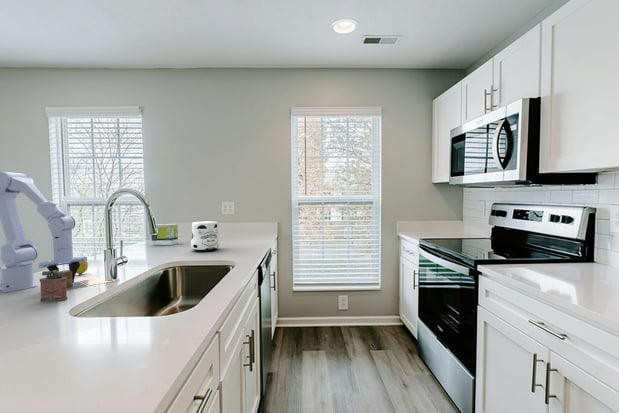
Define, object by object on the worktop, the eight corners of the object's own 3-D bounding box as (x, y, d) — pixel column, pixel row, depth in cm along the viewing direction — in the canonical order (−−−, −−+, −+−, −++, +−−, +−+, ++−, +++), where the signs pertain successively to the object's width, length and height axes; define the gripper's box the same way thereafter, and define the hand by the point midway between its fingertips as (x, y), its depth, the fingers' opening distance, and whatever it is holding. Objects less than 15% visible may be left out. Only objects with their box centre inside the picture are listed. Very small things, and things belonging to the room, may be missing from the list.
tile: (89, 286, 124) (89, 285, 124) (79, 281, 131) (79, 281, 131) (115, 281, 131) (115, 280, 131) (104, 277, 138) (104, 276, 138)
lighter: (70, 298, 109) (69, 269, 109) (62, 301, 106) (61, 271, 105) (45, 299, 109) (44, 269, 108) (37, 302, 105) (36, 272, 105)
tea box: (178, 243, 240) (177, 223, 239) (171, 245, 230) (170, 224, 229) (159, 243, 241) (158, 223, 241) (151, 245, 231) (150, 225, 231)
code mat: (49, 294, 114) (49, 293, 114) (40, 288, 122) (40, 288, 122) (88, 286, 124) (88, 286, 124) (78, 281, 131) (78, 281, 131)
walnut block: (59, 289, 120) (59, 273, 120) (56, 287, 122) (56, 271, 122) (72, 286, 123) (72, 271, 123) (69, 285, 125) (68, 269, 125)
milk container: (211, 253, 196) (210, 223, 195) (185, 252, 199) (184, 223, 199) (224, 248, 213) (223, 221, 212) (200, 248, 216) (199, 221, 216)
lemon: (85, 272, 147) (85, 255, 147) (89, 274, 144) (89, 256, 144) (71, 275, 143) (70, 257, 143) (75, 276, 140) (74, 258, 139)
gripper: (41, 251, 114) (43, 289, 114) (89, 246, 125) (90, 281, 126) (36, 249, 118) (37, 286, 119) (82, 244, 130) (84, 278, 130)
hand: (64, 283), depth 123 cm, fingers closed on walnut block, 4 cm apart
